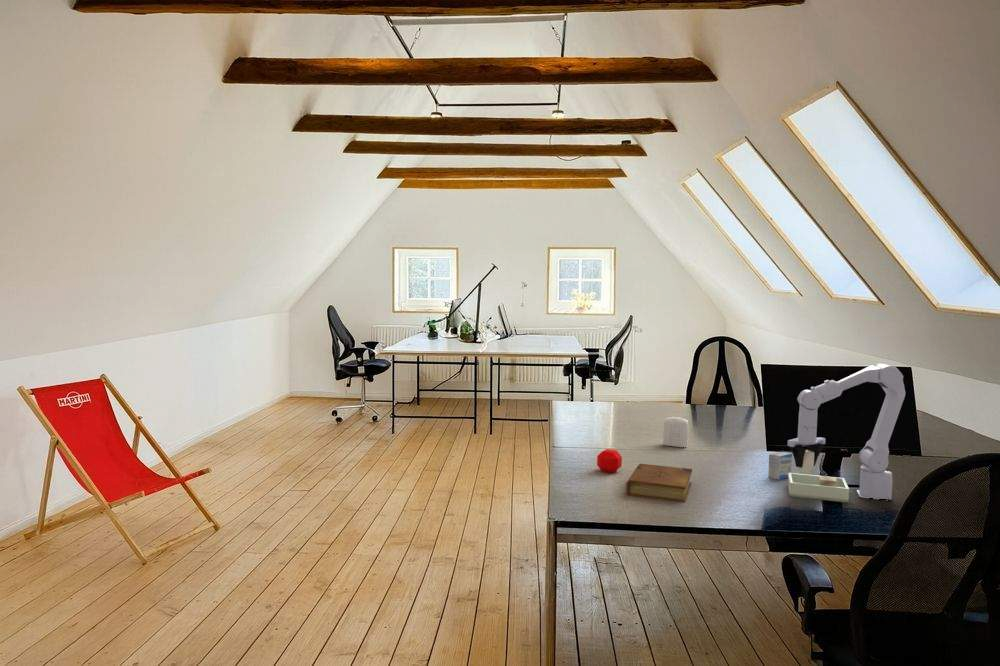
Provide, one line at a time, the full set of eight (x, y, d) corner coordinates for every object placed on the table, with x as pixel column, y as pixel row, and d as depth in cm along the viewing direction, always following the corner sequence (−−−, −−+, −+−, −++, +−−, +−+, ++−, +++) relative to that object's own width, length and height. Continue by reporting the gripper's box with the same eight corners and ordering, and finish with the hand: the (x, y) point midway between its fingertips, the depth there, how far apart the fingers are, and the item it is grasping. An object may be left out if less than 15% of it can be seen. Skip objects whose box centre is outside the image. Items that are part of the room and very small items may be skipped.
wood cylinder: (805, 469, 250) (807, 449, 249) (816, 473, 245) (817, 452, 245) (793, 470, 248) (795, 450, 248) (804, 474, 244) (805, 453, 243)
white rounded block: (688, 446, 311) (689, 417, 310) (686, 448, 307) (688, 419, 306) (664, 443, 315) (665, 415, 314) (662, 445, 311) (663, 416, 310)
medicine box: (778, 480, 262) (780, 456, 261) (767, 477, 265) (768, 453, 264) (791, 477, 266) (792, 453, 265) (780, 474, 270) (781, 451, 269)
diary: (637, 479, 262) (637, 463, 261) (691, 485, 255) (692, 468, 255) (626, 496, 240) (626, 479, 240) (684, 503, 234) (685, 485, 233)
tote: (843, 491, 250) (843, 478, 249) (848, 502, 237) (849, 488, 237) (787, 485, 255) (788, 472, 255) (789, 496, 242) (790, 482, 242)
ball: (623, 470, 271) (624, 450, 270) (615, 475, 264) (615, 454, 263) (603, 467, 275) (603, 447, 274) (594, 471, 268) (595, 451, 267)
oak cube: (834, 492, 245) (835, 477, 245) (836, 496, 241) (836, 481, 240) (818, 490, 247) (819, 475, 247) (819, 494, 242) (820, 479, 242)
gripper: (799, 430, 239) (797, 471, 240) (833, 427, 245) (831, 467, 246) (783, 425, 246) (781, 465, 247) (817, 423, 251) (814, 462, 252)
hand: (805, 466), depth 247 cm, fingers closed on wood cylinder, 5 cm apart
